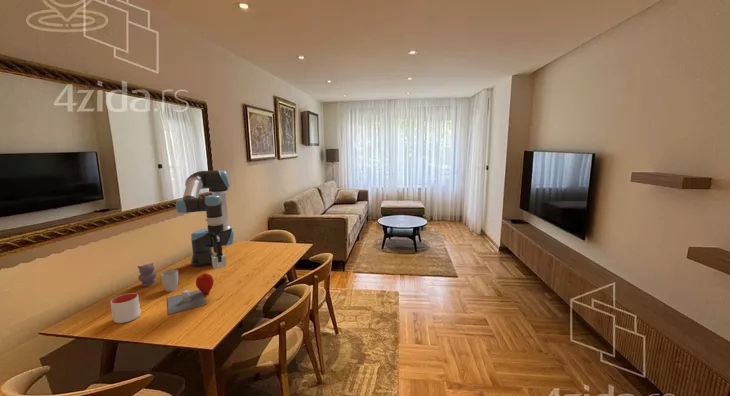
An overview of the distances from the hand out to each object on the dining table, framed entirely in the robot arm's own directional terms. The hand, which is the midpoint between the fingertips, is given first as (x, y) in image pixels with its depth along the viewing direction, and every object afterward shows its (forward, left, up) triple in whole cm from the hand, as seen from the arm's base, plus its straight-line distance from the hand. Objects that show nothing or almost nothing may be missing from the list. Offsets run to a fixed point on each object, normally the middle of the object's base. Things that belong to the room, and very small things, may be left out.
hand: (219, 265), depth 161 cm
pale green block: (0, 0, 0) cm, 0 cm away
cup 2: (-19, -23, -15) cm, 33 cm away
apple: (-2, -7, -15) cm, 17 cm away
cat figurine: (-36, -34, -15) cm, 51 cm away
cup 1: (+4, -41, -15) cm, 43 cm away
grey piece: (+2, -17, -15) cm, 22 cm away
